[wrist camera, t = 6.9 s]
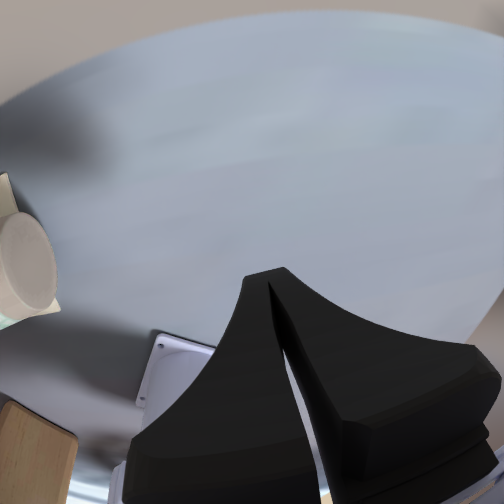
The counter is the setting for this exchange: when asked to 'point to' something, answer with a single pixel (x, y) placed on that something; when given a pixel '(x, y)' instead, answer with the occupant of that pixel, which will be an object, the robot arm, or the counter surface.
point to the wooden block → (33, 458)
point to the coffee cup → (25, 269)
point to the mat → (4, 204)
